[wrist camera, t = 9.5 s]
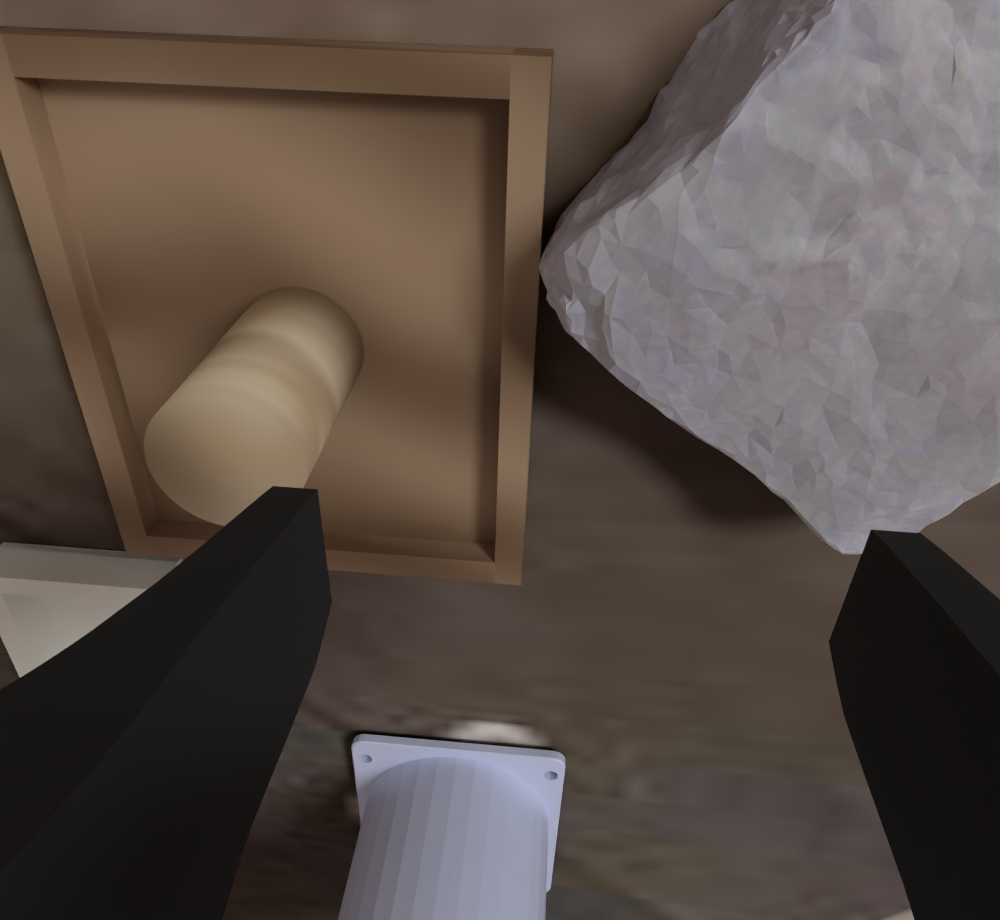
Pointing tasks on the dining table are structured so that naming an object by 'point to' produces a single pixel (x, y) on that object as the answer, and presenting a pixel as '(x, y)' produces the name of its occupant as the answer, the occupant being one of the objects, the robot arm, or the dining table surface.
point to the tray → (298, 261)
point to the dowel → (256, 405)
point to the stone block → (811, 256)
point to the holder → (65, 595)
